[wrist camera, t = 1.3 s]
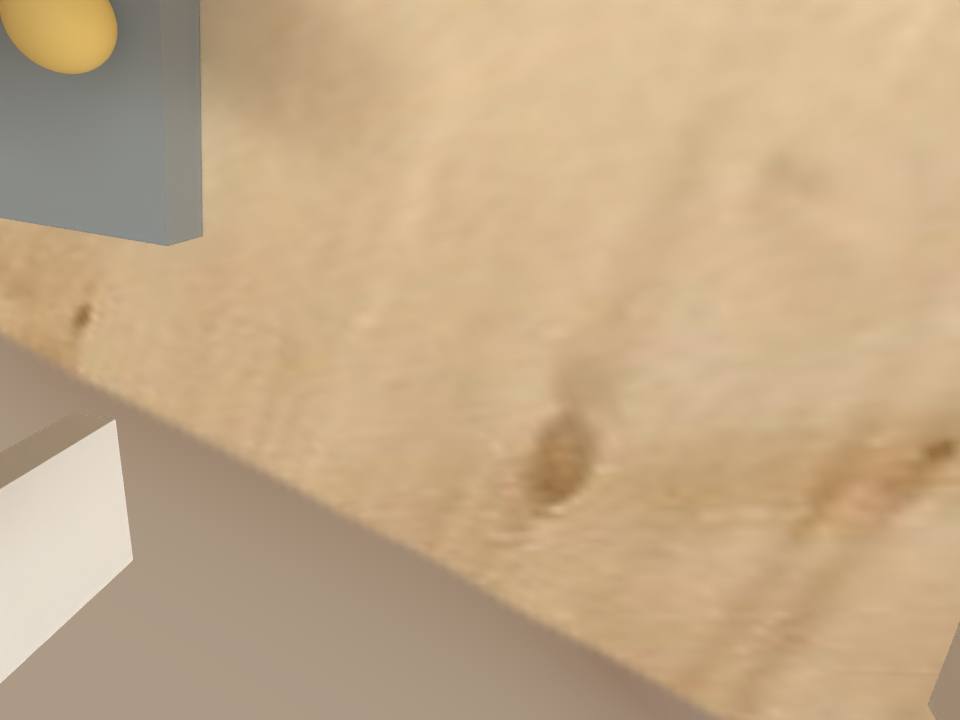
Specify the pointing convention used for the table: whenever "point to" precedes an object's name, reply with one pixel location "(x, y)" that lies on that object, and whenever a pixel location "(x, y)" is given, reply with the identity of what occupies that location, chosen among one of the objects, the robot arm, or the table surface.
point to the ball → (62, 32)
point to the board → (109, 132)
